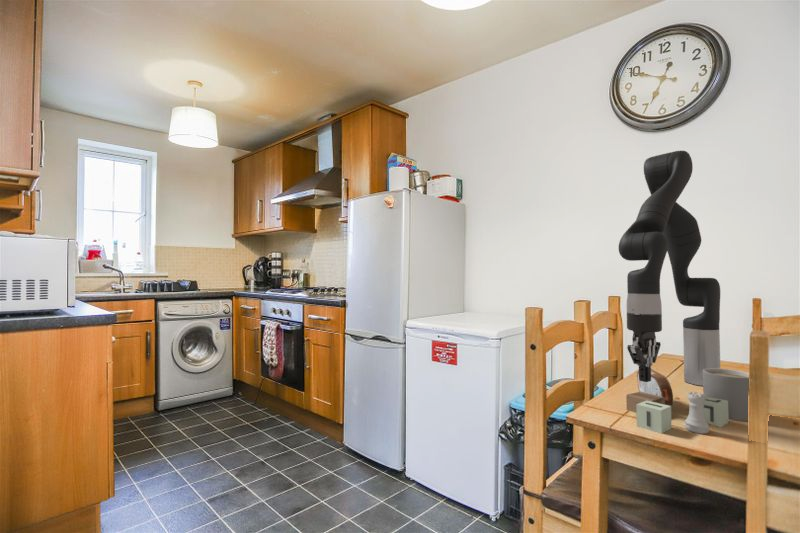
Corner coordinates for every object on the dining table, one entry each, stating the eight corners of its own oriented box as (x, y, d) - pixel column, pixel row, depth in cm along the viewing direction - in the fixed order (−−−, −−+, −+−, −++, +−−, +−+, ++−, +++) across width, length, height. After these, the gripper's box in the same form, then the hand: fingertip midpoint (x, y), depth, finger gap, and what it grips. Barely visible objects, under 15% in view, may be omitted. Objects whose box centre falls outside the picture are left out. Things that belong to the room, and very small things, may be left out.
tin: (674, 413, 99) (674, 378, 99) (660, 412, 99) (660, 378, 99) (647, 395, 113) (646, 365, 114) (635, 394, 114) (634, 365, 114)
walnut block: (640, 407, 104) (640, 391, 104) (665, 413, 98) (664, 397, 98) (626, 410, 101) (626, 394, 101) (651, 418, 96) (650, 401, 96)
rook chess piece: (679, 427, 89) (678, 390, 89) (697, 426, 90) (697, 390, 90) (695, 434, 85) (694, 396, 85) (715, 434, 85) (714, 396, 85)
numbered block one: (647, 422, 92) (646, 399, 93) (671, 428, 88) (671, 405, 89) (636, 426, 90) (636, 403, 90) (661, 434, 85) (660, 409, 86)
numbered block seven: (702, 416, 96) (702, 395, 96) (728, 422, 92) (728, 400, 92) (694, 420, 93) (693, 398, 93) (720, 427, 89) (720, 404, 89)
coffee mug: (756, 424, 91) (754, 380, 91) (701, 414, 97) (700, 373, 98) (756, 409, 101) (755, 369, 101) (707, 401, 107) (706, 364, 108)
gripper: (640, 309, 107) (641, 374, 107) (615, 311, 100) (616, 381, 99) (671, 311, 101) (673, 380, 101) (647, 314, 93) (649, 388, 93)
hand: (644, 381), depth 100 cm, fingers closed
